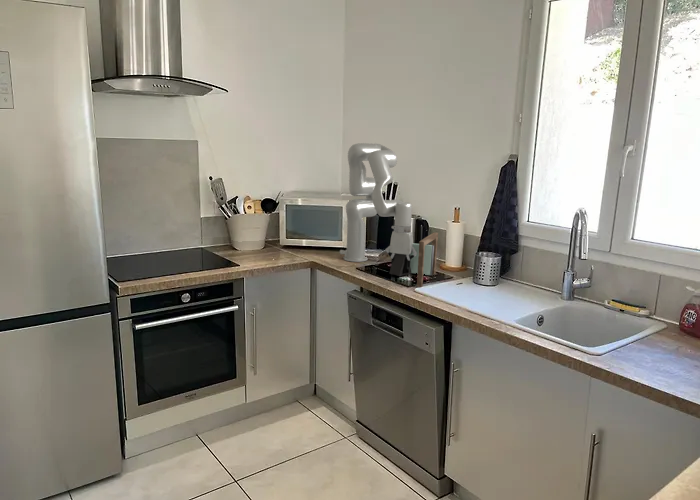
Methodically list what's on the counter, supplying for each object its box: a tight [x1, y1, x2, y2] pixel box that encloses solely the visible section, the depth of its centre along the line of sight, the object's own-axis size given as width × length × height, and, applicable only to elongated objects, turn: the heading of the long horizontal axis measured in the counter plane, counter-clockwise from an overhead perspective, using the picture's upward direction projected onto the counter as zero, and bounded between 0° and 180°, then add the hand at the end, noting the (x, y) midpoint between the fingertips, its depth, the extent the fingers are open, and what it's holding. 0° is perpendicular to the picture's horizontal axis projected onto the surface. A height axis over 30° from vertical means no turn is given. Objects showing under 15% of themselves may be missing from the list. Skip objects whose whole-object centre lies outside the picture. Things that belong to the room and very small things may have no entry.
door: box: [410, 242, 434, 276], centre depth 251 cm, size 19×2×14 cm, turn 67°
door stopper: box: [388, 254, 412, 277], centre depth 247 cm, size 9×6×12 cm, turn 136°
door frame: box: [416, 231, 439, 288], centre depth 239 cm, size 2×26×20 cm, turn 157°
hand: (400, 267), depth 247 cm, fingers closed on door stopper, 6 cm apart
